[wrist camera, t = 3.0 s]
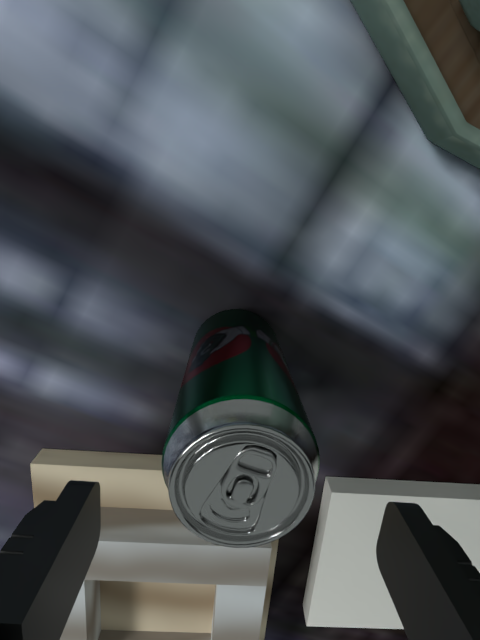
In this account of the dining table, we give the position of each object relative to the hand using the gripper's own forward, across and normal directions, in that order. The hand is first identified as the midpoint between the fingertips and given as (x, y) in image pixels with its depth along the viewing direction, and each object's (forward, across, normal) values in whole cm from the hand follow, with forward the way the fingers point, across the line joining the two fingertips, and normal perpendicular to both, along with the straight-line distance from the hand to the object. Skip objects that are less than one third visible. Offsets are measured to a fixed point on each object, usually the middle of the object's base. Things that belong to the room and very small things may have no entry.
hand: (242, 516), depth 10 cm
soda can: (+13, 0, 0) cm, 13 cm away
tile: (+13, -13, +14) cm, 23 cm away
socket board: (+13, +4, +18) cm, 22 cm away
